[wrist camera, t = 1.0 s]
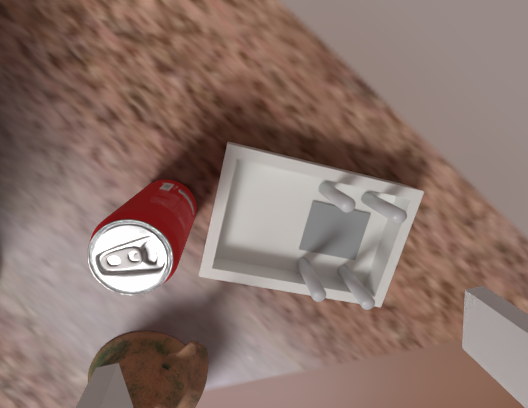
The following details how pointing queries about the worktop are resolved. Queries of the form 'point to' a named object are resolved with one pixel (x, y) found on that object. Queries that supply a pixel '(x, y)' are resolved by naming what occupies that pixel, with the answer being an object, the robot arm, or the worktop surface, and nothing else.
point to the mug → (157, 369)
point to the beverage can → (143, 239)
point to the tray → (306, 227)
